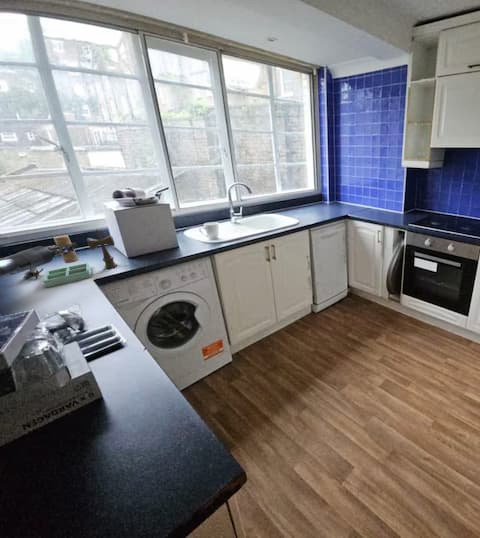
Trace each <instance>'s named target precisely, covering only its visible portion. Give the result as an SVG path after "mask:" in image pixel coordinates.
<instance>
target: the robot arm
mask: <svg viewBox="0 0 480 538" xmlns="http://www.w3.org/2000/svg"><path fill="white" fill-rule="evenodd" d="M60 248H61V250H60ZM76 248H79V247H78V243H77V242H71V244H69V245H65V246H57V244H53V245H47V246H42V245H38V246H34V247H31V248H28V249H24V250H22V251H21V250H20V251H19V252H17V253H15V254H11V255H9V256H5V257H0V279H1V278H3V277H5V276H8V275H10V276H11V275H17V274H20V273H23V272H27V271H28V270H29V269H33V268H36V269H37V268H38V267H41V266H43V265H46V264H49V263H51V262H52V261H53V259H54V257H58V256H59V255H61V254H65V255H66V254H68V253H70V252H72V251H74V250H75V249H76ZM29 271H30V270H29Z"/></svg>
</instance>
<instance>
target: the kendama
mask: <svg viewBox="0 0 480 538" xmlns="http://www.w3.org/2000/svg"><path fill="white" fill-rule="evenodd" d="M95 233H96V236H97V239H95V238H90V237H87V238H86V241H87V245H88V247H89V249H90V250H91V251H93V250H95V249H96V248H97V247H99V246H100V247H101V251H102V255H103V258H102V261H103V262H104V269H112V268H113V269H114V268H115V267H117V266H118V263H116V262H115V260H114V259H115V258H114V256H112V255H111V254H110V252H109V250H108V249H107V247H106V245H108V246H111V247H112V246H113V247H115V245H116V244H115V239H114V238H113V235H112V234H109V235H107V236H106V237H104V238H102V237H101V235H100V233H99V231H98V229H95Z"/></svg>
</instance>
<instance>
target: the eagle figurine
mask: <svg viewBox="0 0 480 538" xmlns="http://www.w3.org/2000/svg"><path fill="white" fill-rule="evenodd" d="M43 270H44V268H41V269H40V270H38V269H37V267H36V268H33V269H29V270H26V271H25V272H24V276H23V279H27V278H30V277H33V278H35V279H36V280H38V278H39V277H42V275H41V273H42V272H43Z"/></svg>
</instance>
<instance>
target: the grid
mask: <svg viewBox="0 0 480 538" xmlns="http://www.w3.org/2000/svg"><path fill="white" fill-rule="evenodd" d="M91 269H92V268H91V265H90V263H89V262H84V263H80V264H75V265H70V266H65V267H60V268H55V269H50V270H47V271H45V275H44V278H43V280H42V282H43V284H44V286H45V288H50V287H55V286H59V285H63V284H68V283H71V282H76V281H79V280H84V279H89V278H91V277H92V270H91Z"/></svg>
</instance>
